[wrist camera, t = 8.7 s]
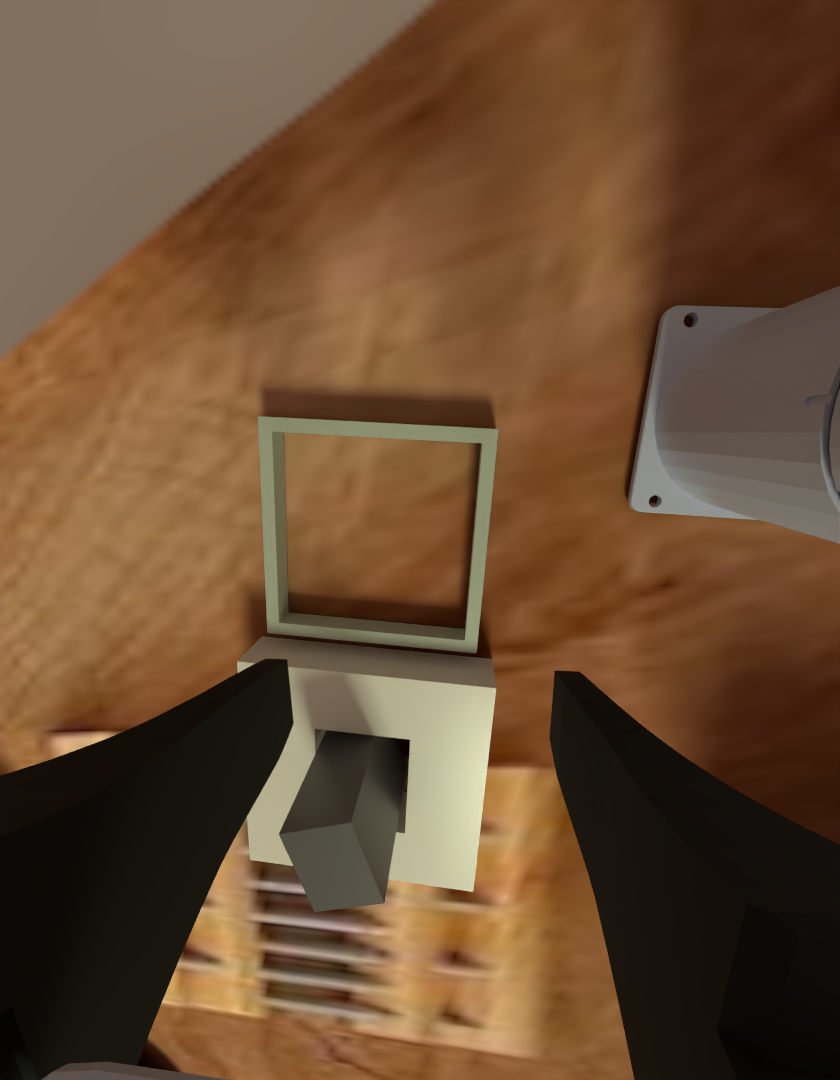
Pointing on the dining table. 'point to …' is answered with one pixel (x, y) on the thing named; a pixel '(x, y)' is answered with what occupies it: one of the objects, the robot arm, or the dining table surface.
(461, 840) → the socket
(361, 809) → the plug
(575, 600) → the dining table surface
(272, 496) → the pale green square frame
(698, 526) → the dining table surface
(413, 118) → the dining table surface
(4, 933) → the robot arm
